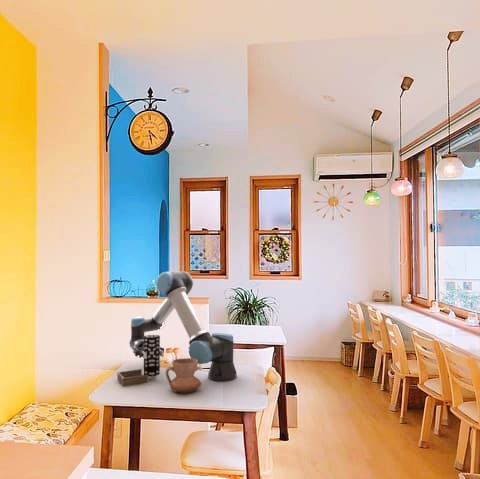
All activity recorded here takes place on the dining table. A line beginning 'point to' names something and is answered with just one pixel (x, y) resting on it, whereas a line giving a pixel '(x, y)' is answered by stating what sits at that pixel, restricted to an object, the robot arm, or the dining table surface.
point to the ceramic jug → (184, 375)
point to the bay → (131, 378)
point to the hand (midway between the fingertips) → (154, 355)
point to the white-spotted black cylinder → (152, 355)
